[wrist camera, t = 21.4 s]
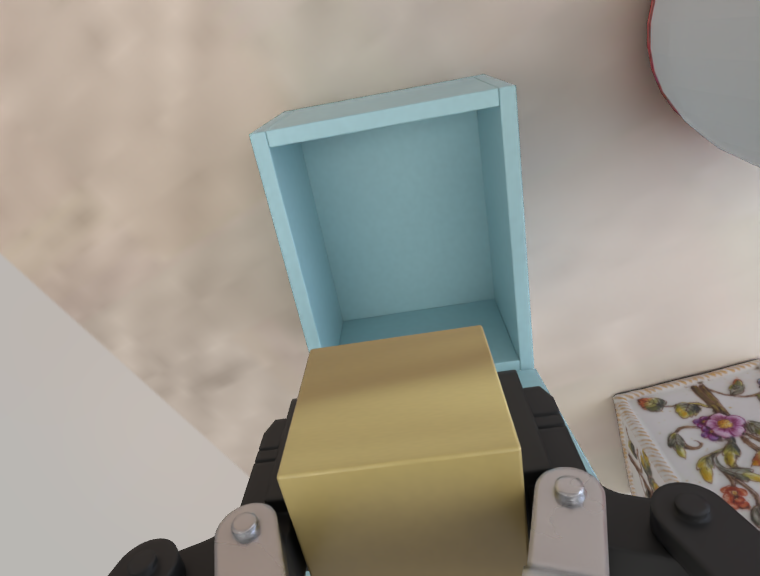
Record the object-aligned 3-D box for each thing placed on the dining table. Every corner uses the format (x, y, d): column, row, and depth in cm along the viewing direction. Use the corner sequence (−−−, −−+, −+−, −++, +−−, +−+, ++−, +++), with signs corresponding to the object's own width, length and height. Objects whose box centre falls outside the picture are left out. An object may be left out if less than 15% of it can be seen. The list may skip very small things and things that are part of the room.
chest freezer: (283, 111, 33) (248, 134, 25) (484, 73, 32) (516, 84, 24) (335, 326, 39) (321, 398, 31) (504, 301, 38) (534, 370, 30)
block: (309, 348, 14) (274, 477, 10) (482, 323, 13) (521, 448, 9) (344, 475, 16) (327, 629, 11) (496, 457, 15) (535, 610, 11)
